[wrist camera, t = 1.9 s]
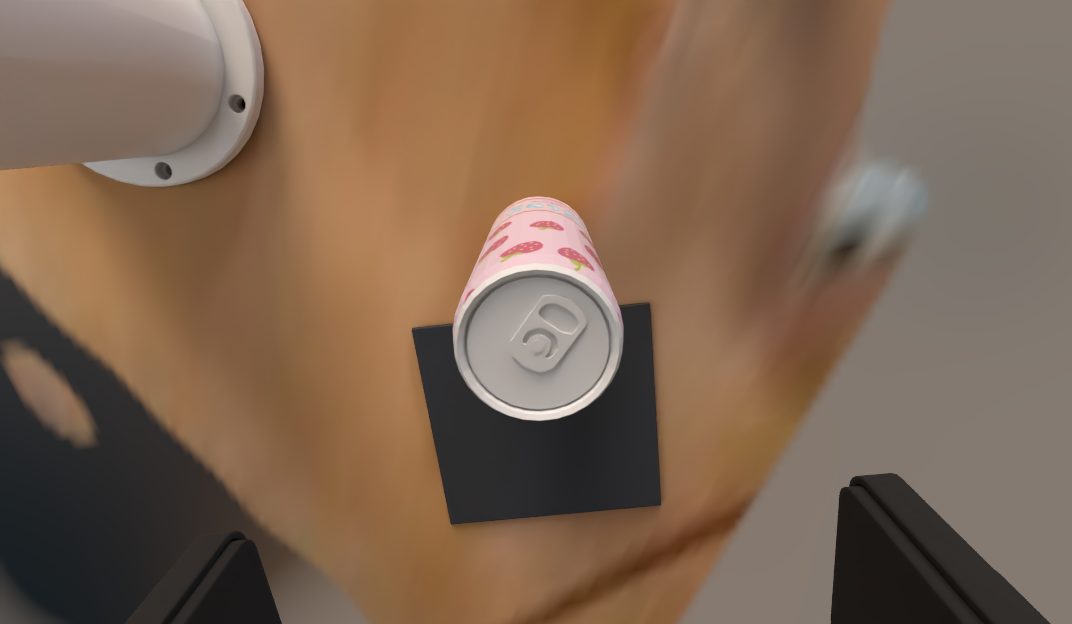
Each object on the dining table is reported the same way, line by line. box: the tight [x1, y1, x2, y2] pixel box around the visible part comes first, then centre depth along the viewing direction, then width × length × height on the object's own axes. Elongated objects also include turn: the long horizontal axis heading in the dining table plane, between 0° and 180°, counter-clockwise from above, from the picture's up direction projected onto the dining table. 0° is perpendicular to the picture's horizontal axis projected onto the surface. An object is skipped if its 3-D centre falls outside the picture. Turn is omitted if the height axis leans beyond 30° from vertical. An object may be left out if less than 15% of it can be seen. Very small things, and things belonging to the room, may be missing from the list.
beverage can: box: [453, 196, 624, 421], centre depth 25 cm, size 6×6×15 cm
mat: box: [412, 302, 661, 525], centre depth 35 cm, size 14×14×1 cm
